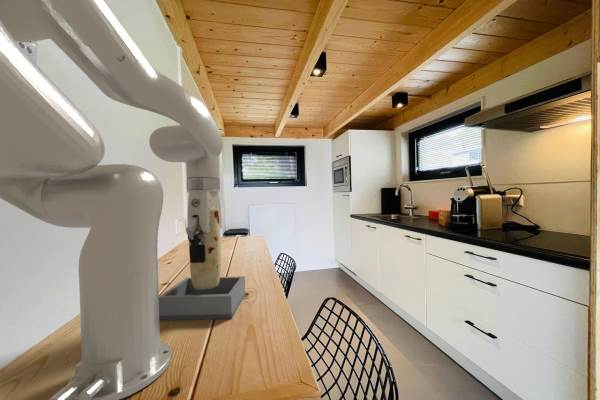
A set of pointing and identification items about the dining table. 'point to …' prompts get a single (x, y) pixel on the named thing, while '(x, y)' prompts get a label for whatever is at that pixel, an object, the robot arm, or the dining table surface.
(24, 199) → the robot arm
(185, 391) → the dining table surface
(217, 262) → the food model
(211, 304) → the bin
